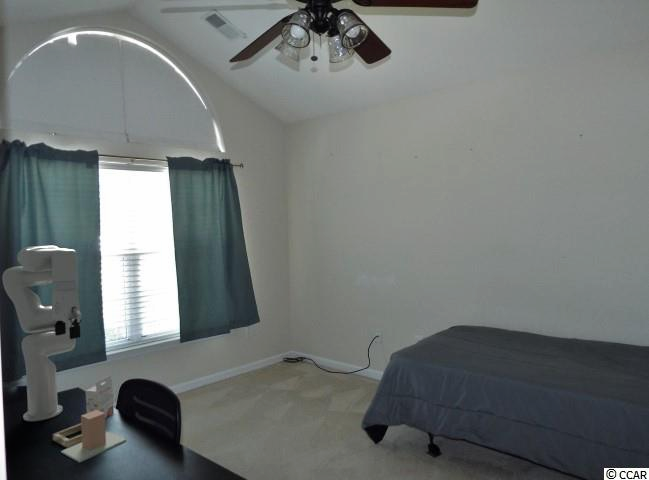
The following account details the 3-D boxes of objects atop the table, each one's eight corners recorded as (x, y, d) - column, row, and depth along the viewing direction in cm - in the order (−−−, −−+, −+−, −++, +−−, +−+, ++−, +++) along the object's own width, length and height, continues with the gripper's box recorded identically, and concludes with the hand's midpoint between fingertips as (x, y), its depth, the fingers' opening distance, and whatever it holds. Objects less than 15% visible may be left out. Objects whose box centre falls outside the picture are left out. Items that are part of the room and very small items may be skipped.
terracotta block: (82, 446, 138) (80, 415, 137) (97, 439, 142) (96, 409, 141) (90, 450, 135) (88, 419, 135) (106, 443, 139) (104, 413, 139)
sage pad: (61, 452, 135) (61, 450, 135) (107, 432, 148) (107, 431, 148) (79, 462, 129) (79, 460, 129) (126, 441, 142) (126, 439, 142)
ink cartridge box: (102, 412, 165) (101, 374, 164) (114, 412, 164) (112, 374, 163) (86, 422, 156) (84, 382, 156) (98, 423, 156) (96, 383, 155)
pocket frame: (52, 440, 144) (52, 434, 144) (82, 428, 152) (82, 422, 152) (67, 447, 138) (67, 441, 138) (97, 434, 146) (97, 429, 146)
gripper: (41, 286, 146) (43, 335, 147) (66, 289, 136) (69, 342, 137) (64, 283, 152) (66, 331, 153) (90, 286, 143) (92, 336, 143)
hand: (67, 336), depth 145 cm, fingers open, 9 cm apart
